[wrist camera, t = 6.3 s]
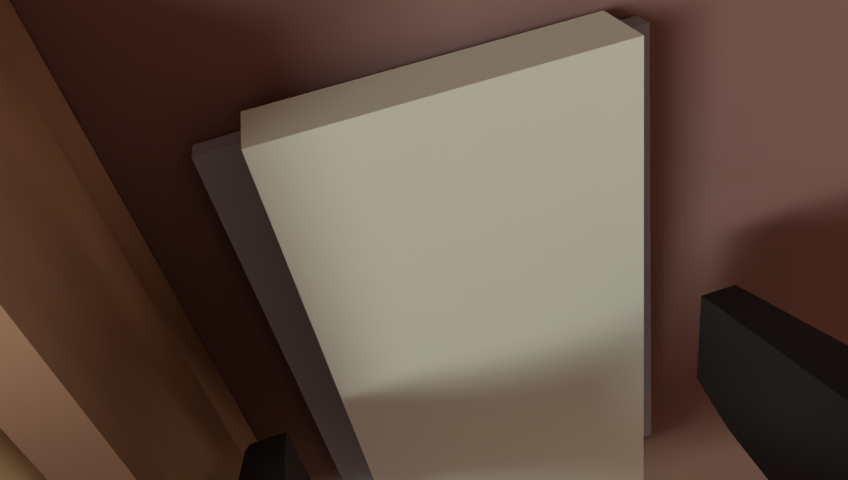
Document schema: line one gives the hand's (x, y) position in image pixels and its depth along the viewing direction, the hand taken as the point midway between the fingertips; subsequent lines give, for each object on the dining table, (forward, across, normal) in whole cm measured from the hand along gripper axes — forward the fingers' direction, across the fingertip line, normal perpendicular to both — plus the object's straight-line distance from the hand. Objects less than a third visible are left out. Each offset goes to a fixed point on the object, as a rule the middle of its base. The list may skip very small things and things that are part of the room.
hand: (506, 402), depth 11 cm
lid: (+2, 0, 0) cm, 2 cm away
